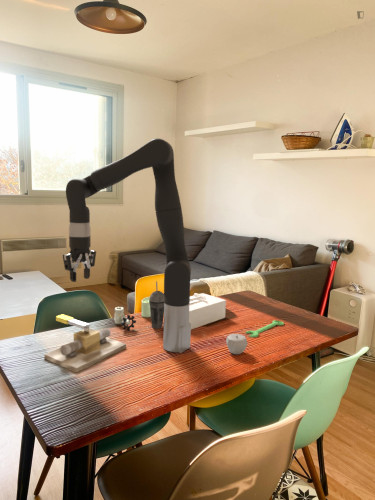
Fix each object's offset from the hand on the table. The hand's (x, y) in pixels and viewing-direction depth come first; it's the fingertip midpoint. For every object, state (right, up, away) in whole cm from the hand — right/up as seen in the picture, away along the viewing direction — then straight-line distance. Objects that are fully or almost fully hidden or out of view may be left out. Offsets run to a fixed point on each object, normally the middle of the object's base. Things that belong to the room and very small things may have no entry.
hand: (80, 279), depth 139 cm
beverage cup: (+27, -22, +20) cm, 40 cm away
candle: (+21, -19, +33) cm, 44 cm away
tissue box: (+43, -21, +31) cm, 57 cm away
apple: (+57, -27, -2) cm, 63 cm away
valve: (+12, -21, +20) cm, 32 cm away
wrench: (+73, -24, +22) cm, 80 cm away
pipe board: (+4, -25, -7) cm, 27 cm away
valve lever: (-1, -17, -5) cm, 17 cm away
